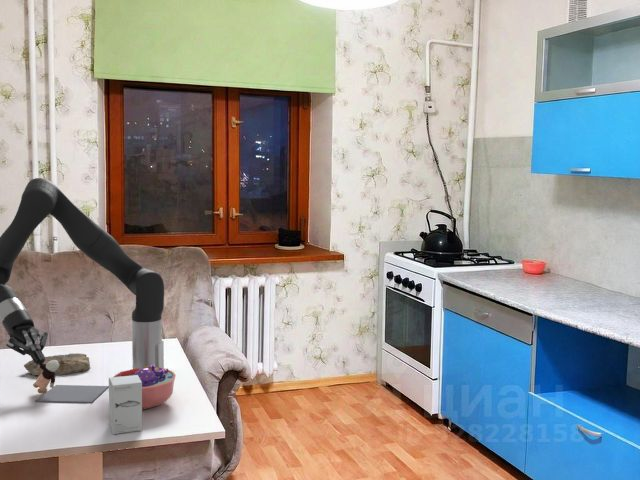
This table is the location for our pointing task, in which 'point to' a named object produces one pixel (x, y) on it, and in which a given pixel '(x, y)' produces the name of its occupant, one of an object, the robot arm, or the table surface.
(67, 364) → the clay tablet
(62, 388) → the felt mat
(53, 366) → the grandmother figurine
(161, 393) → the cell model
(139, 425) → the supplement box
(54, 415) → the table surface
